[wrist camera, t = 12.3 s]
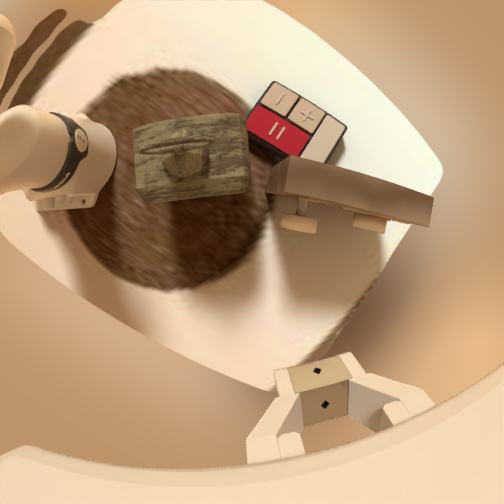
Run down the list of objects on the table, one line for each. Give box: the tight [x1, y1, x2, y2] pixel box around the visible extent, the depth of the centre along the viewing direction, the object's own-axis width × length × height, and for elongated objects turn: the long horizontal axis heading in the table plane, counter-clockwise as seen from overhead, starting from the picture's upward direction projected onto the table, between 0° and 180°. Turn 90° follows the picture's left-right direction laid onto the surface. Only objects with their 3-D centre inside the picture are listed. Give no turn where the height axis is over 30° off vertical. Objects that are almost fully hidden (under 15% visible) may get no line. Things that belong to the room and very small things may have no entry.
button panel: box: [265, 155, 434, 227], centre depth 38 cm, size 4×20×18 cm, turn 80°
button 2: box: [352, 213, 387, 234], centre depth 39 cm, size 7×5×5 cm
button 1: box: [280, 199, 319, 234], centre depth 39 cm, size 7×5×5 cm
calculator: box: [246, 81, 347, 163], centre depth 43 cm, size 11×4×15 cm
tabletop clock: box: [133, 113, 252, 204], centre depth 33 cm, size 14×9×25 cm, turn 95°
